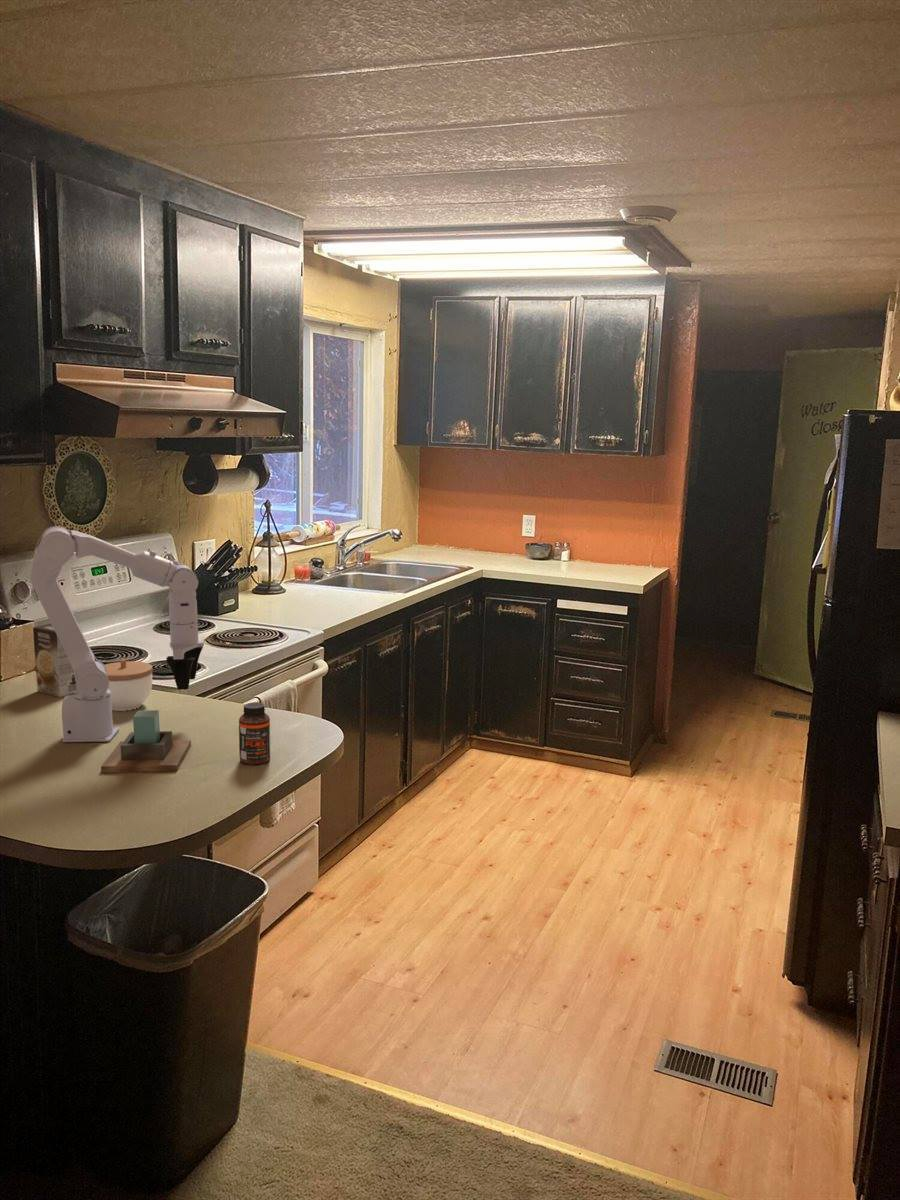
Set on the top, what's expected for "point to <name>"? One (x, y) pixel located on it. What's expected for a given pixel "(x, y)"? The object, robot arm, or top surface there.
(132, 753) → the end holder
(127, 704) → the lidded bowl
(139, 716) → the block
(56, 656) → the coffee box
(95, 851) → the top surface
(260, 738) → the supplement bottle
